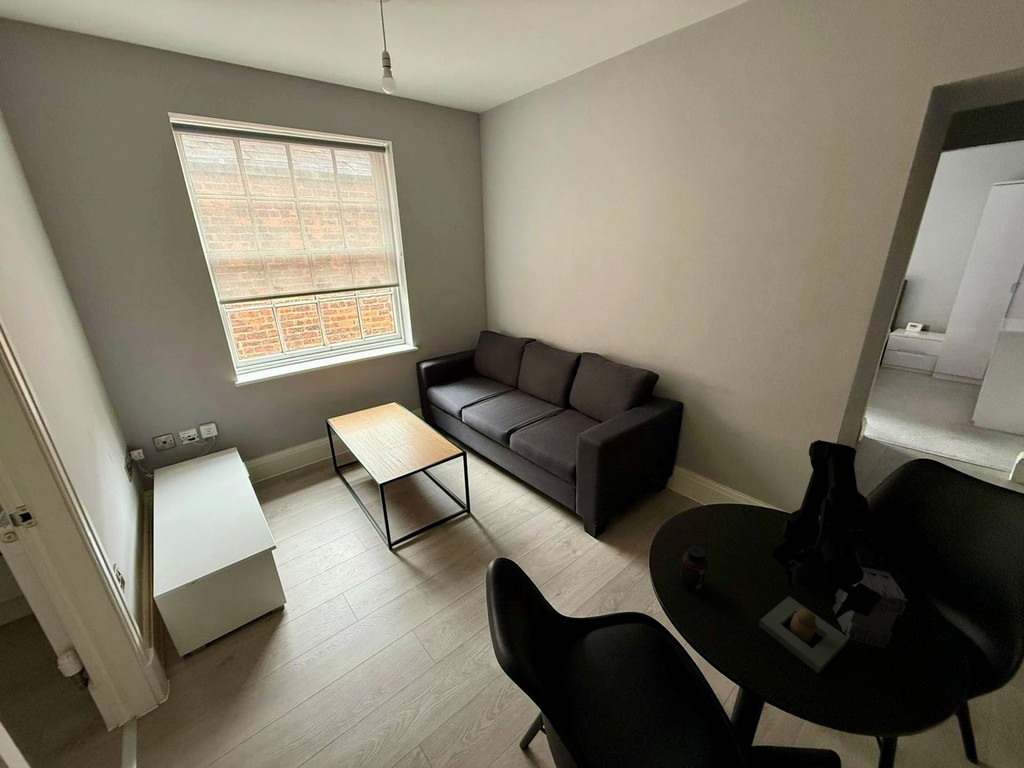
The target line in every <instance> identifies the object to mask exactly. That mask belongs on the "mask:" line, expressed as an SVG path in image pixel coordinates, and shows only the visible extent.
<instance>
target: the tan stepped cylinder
mask: <svg viewBox="0 0 1024 768" xmlns="http://www.w3.org/2000/svg"><path fill="white" fill-rule="evenodd" d="M807 609H808V608H807ZM807 609H800V610H799V612H796V613H795V614H794V615H793V617H792V618H791V622H790V624H789V627H788V630H789V631H790V632H791V633H792V634H794V635H795V636H796V637H798V638H799V639H800V640H802V641H803V642H804V643H806V644H809V643H811V642H812V639H813V637H814V636H815V634H816V632H815V630H816V628H817V624H816V622H815V620H816V617H815V615H816V614H815V613H814V612H812V611H811V610H809V609H808V610H807ZM813 613H814V614H815V615H814V614H813Z"/></svg>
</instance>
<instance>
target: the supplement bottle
mask: <svg viewBox="0 0 1024 768" xmlns="http://www.w3.org/2000/svg"><path fill="white" fill-rule="evenodd" d="M682 557H683V559H682V564H681V568H680V573H679V582H680V584H681V585H682V586H683V587H684V588H685V589H687V590H688V591H692V592H699V591H701V590H702V589H703V586H704V582H705V578H706V573H707V569H708V564H709V563H708V560H707V557H706V552H705V550H704V549H703V548H701V547H700V546H696V545H693V546H690V547H689V548H688V551H686V552H685V553H684V554H683V556H682Z"/></svg>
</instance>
